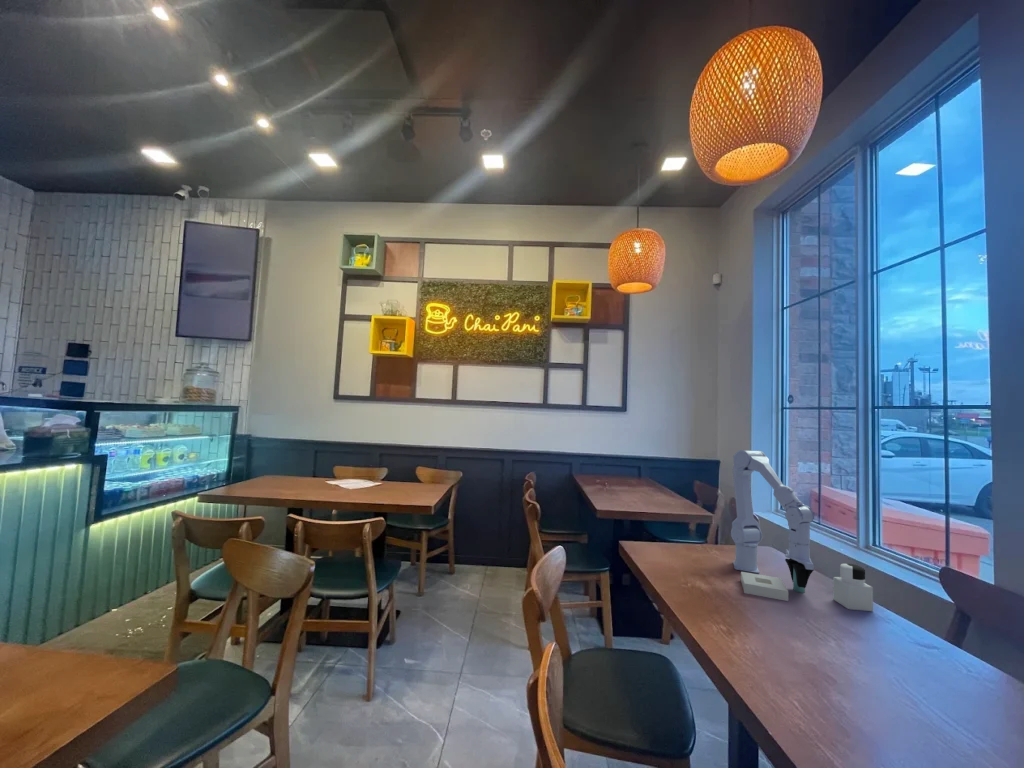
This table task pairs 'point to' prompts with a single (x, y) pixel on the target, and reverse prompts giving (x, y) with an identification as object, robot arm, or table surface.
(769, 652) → the table surface
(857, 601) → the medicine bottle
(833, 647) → the table surface
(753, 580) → the socket slab
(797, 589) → the peg
